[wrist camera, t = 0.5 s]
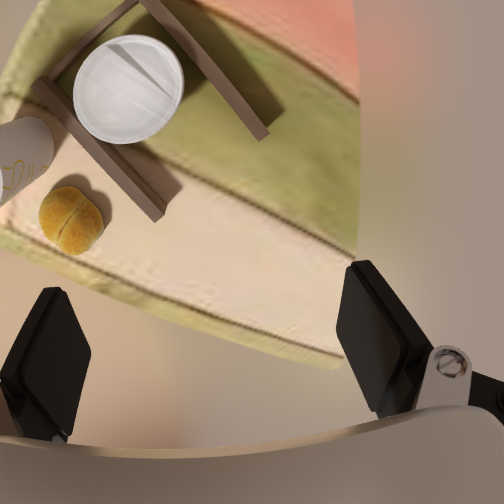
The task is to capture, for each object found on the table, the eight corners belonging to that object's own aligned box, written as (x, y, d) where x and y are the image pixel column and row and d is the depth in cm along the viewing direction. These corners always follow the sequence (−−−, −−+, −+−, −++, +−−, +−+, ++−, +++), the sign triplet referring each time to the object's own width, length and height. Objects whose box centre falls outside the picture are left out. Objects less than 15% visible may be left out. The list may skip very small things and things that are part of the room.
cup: (25, 191, 34) (-24, 233, 23) (-6, 144, 30) (-63, 174, 19) (65, 153, 33) (16, 187, 22) (32, 103, 28) (-27, 119, 18)
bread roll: (64, 172, 34) (51, 182, 30) (115, 218, 38) (107, 232, 34) (33, 216, 36) (20, 230, 32) (81, 258, 40) (72, 274, 36)
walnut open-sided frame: (145, -12, 24) (140, -19, 22) (265, 129, 35) (270, 133, 32) (42, 85, 28) (30, 87, 25) (158, 212, 38) (154, 223, 36)
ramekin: (197, 46, 29) (195, 40, 25) (175, 141, 34) (170, 151, 30) (100, 37, 27) (84, 31, 22) (83, 130, 32) (66, 139, 27)
